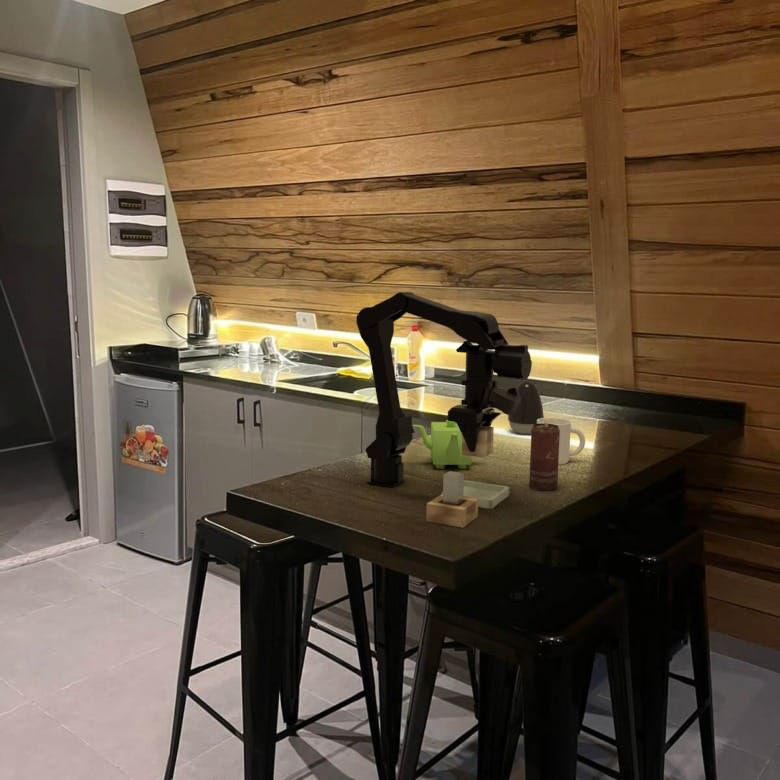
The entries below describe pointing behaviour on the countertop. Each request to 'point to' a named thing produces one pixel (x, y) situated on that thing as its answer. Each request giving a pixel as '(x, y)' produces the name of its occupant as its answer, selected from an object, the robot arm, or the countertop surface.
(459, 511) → the oak block
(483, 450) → the beech block
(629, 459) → the countertop surface
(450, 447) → the kettle
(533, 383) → the dark tapered diffuser
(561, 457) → the mug
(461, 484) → the grey wood bar
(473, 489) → the tray
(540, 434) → the can
